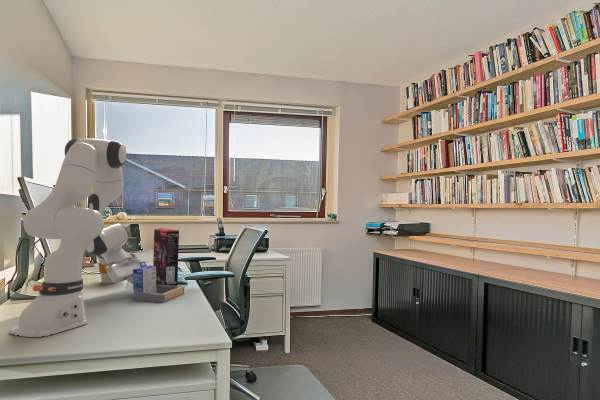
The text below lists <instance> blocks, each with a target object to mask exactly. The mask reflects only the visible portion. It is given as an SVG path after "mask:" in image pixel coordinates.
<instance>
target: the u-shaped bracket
mask: <svg viewBox="0 0 600 400" xmlns="http://www.w3.org/2000/svg"><path fill="white" fill-rule="evenodd" d="M183 294H185V286H184V285H183V286H182V285H181V286H180V285H177V286H170V285H158V284H156V293H144V292H136V293H135V297H134V301H145V302H153V303H155V302H156V303H165V302H167V301H170V300H172V299H174V298H176V297H179V296H182V295H183Z"/></svg>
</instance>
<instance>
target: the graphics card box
mask: <svg viewBox="0 0 600 400" xmlns="http://www.w3.org/2000/svg"><path fill="white" fill-rule="evenodd" d="M179 240H180V230H178V229H172V228H165V227H163V228H162V227H161V228H160V227H159V228H155V229H154V230H153V255H152V257H153V258H152V264H153V265H152V266H156V285H170V286H178V281H179V280H178V278H179V277H178V275H179V274H178V273H179V246H180V245H179V243H180V241H179Z"/></svg>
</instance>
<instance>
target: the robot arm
mask: <svg viewBox="0 0 600 400" xmlns="http://www.w3.org/2000/svg"><path fill="white" fill-rule="evenodd" d="M126 160H127V149H126V147H125V145H124V144H123V143H122V142H121V141H118V140H107V139H101V138H99V139H98V138H78V137H77V138H72V139H70V140H68V142H66V144H65V147H64V159H63V161H62V164H61V167H60V170H59V173H58V175H57V179H56V182H55V184H54V187H53V189H52V190H51V192H50V193H49V194H48V196H47V197H46V198H45V199H44V200H43V201H42V202H40V204H37V205H36V206H34V207H33V208H31V209H29V210H28V211H27V212H26V214H25V215H24V216H23V217H24V218H23V221H22V225H23V229H24V231H25V233H26V234H27V235H28V236H29V237H30V236H31V237H34V238H39V239H43V240H60V244H59V246H58V248H57V249H56V250H54V251H52V252H51V253H49V254H48V255H47V256H46V257H45V259H44V265H43V267H44V268H43V270H44V272H43V281H42V283H41V285H40V284H39V285H38V284H34V285H33V286H31V287H32V291H33V292H38V293H39V294H38V295H36V297H35V298H34V299H33V300H32V301H31V302H30V303H29V304H28V305H27V306H26V307H25V308H24V309H23V310H22V311H21V312H20V315H19V321H18V325H17V326H14V327H12V328H10V329H9V333H10V334H11V335H13V334H14V335H13V336H17V335H19V337H27V338H40V337H42V336H44V337H48V336H51V334H52V335H55V334H58V333H61V332H65V331H68V330H72V329H74V328H77V327H81V326H85V325H88V320H87V317H86V312H85V302H84V301H85V300H84V296H83V293H82V292H83V289H84V279H83V277H82V275H83V272H82V271H83V263H84V262H83V260H84V256H85V254H86V253H85V252H87V253H89V254H90V255H93V256H97V257H98V256H100V255H101V256H102V257H104V259H105V261H106V263H107V264H106V265H105V269H106V270H107V274H108V276H109V277H110V279H111V280H112V281H113V282H114V283H113V284H117V283H120V282H124V281H127V282H129V283H130V284H132V285H133V269H136V268H139V267H141V266H140V263H139V262H142V261H141V260H140V259H139V258H138V255H137V254H135V253H132V252H128V251H125V250H124V249H123V246H124V245H125V244H126V243H127V242H128V241H129V238H130V232H129V229H128V228H127V227H126V226H125V225H123V224H121V223H114V224H112V225H109V226H106V227H105V221H104V217H103V212H104V210H105V209H106V208H107V207H108V206H109V205H110V204H112V203H113V202H114V201H115V200H117V199H119V197H120V196H121V195H122V193H123V192H124V185H125V182H124V174H123V173H124V172H123V169H122V166H123V165H124V164H125V163H126ZM92 189H93V190H92ZM87 198H88V199H87ZM86 199H87V205H86V207H85V206H84V207H81V206H76V205H77V204H79V203H81V202H82V201H85V200H86ZM75 206H76V207H75ZM104 227H105V228H104ZM141 265H144V263H142V264H141Z"/></svg>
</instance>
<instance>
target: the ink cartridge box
mask: <svg viewBox="0 0 600 400" xmlns="http://www.w3.org/2000/svg"><path fill="white" fill-rule="evenodd" d="M139 263H140V266H141V267H139V268H136V269H133V284H132V286H133V287H132V290H133V298H135V293H136V292H144V293H157V284H156V266H153V265H147V264H146V262H145V261H141V262H139ZM142 263H143V265H141V264H142Z"/></svg>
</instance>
